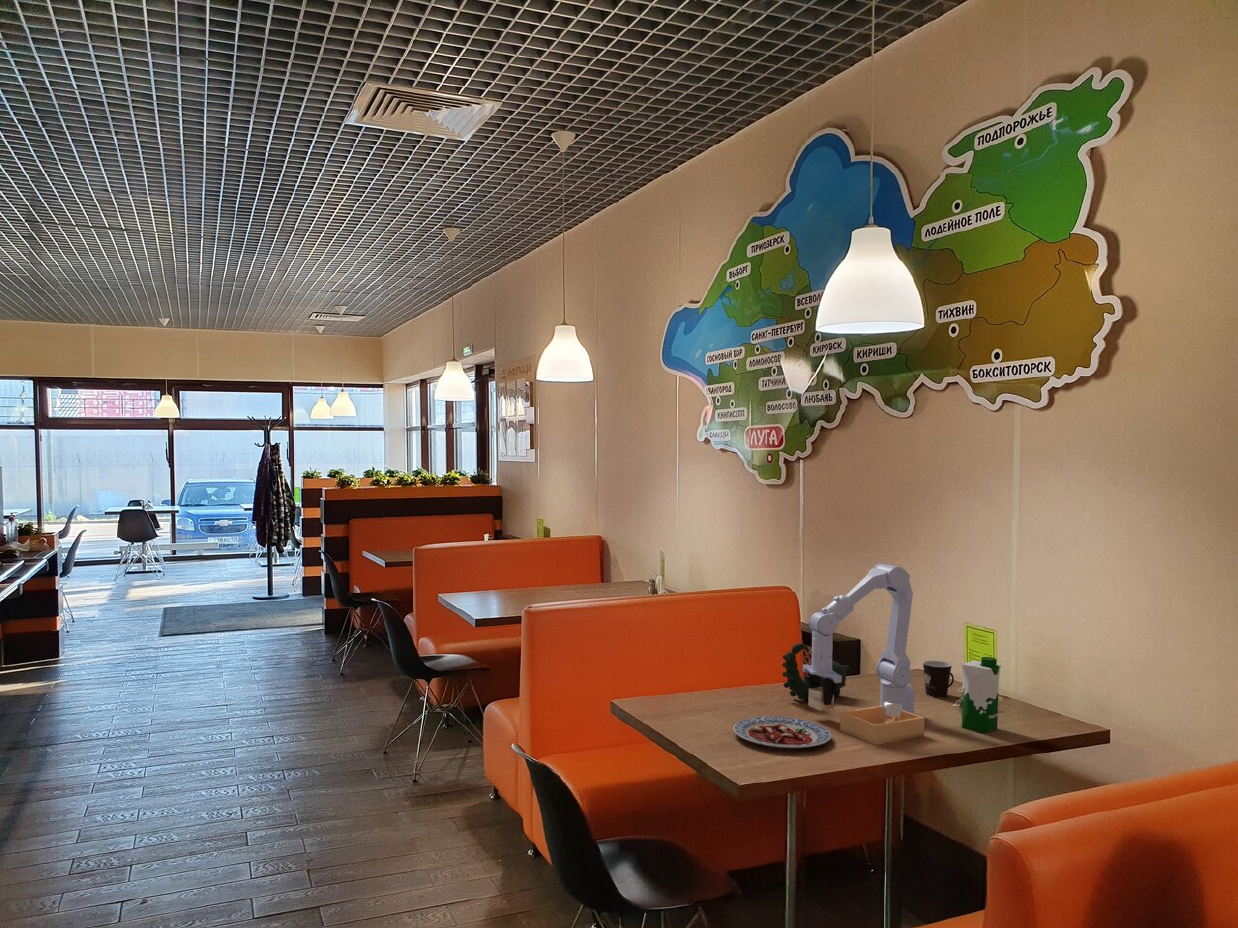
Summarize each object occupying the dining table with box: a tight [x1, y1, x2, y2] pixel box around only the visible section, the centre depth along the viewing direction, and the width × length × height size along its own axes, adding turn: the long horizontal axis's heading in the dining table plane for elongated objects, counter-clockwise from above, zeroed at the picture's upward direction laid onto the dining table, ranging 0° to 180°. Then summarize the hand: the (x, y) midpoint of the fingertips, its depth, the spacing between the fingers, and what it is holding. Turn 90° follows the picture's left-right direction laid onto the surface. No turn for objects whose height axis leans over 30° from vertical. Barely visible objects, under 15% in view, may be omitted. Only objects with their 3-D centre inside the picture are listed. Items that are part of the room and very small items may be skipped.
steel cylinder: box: [883, 700, 902, 723], centre depth 250 cm, size 5×5×7 cm
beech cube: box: [808, 687, 835, 711], centre depth 260 cm, size 5×5×5 cm
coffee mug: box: [922, 660, 955, 698], centre depth 287 cm, size 12×9×10 cm
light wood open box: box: [839, 705, 925, 746], centre depth 248 cm, size 18×14×5 cm
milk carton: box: [961, 656, 1001, 734], centre depth 254 cm, size 9×9×20 cm
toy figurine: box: [781, 642, 851, 700], centre depth 282 cm, size 9×19×25 cm
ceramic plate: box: [732, 716, 832, 750], centre depth 242 cm, size 26×26×3 cm
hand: (821, 701), depth 260 cm, fingers closed on beech cube, 5 cm apart
